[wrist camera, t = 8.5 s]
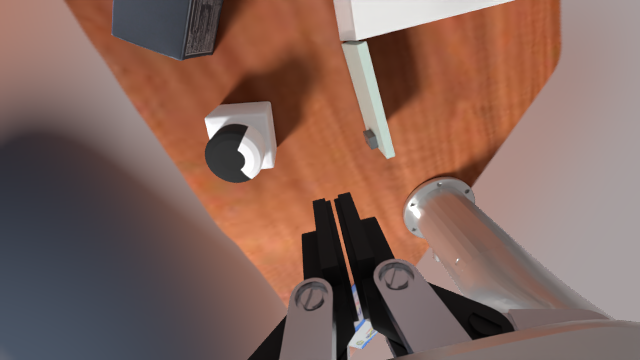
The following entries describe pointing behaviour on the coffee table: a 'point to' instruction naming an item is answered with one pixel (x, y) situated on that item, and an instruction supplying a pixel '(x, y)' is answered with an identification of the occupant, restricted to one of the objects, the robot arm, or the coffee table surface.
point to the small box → (168, 25)
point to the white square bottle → (240, 140)
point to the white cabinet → (396, 14)
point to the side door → (368, 96)
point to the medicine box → (361, 326)
